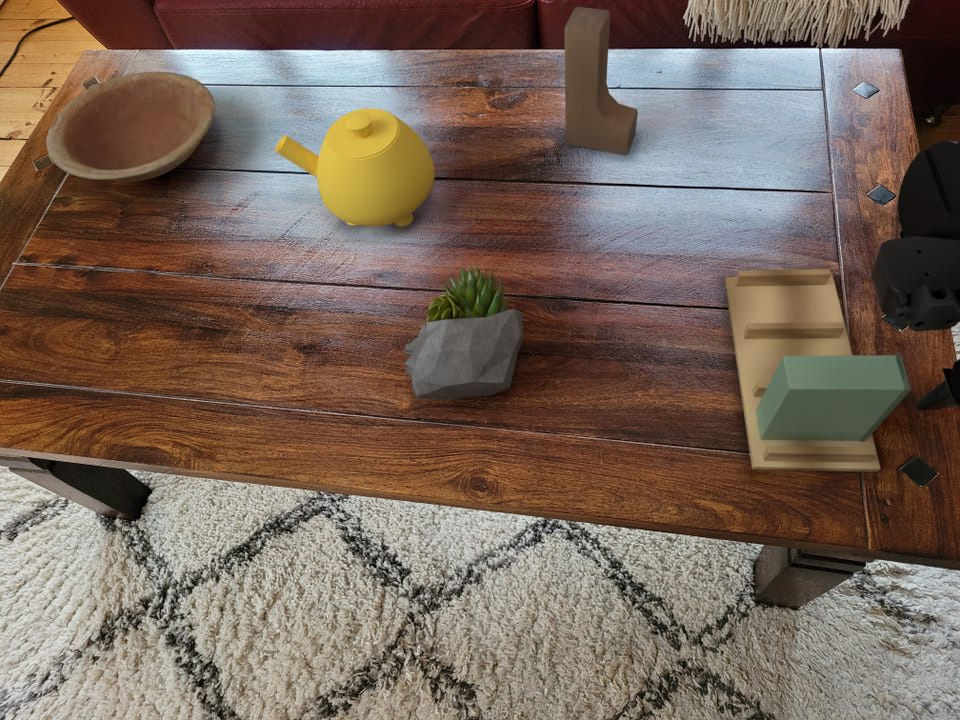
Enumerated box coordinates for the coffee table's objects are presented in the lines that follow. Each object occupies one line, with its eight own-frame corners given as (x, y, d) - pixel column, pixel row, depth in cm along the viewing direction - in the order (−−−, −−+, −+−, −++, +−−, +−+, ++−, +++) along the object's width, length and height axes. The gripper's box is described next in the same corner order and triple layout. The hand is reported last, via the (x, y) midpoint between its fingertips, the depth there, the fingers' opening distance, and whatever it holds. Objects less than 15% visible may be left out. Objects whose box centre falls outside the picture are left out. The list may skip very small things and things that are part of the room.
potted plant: (387, 401, 74) (389, 272, 78) (483, 412, 82) (481, 294, 85) (447, 378, 65) (445, 233, 69) (550, 392, 72) (543, 260, 76)
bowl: (213, 211, 97) (186, 169, 91) (58, 221, 100) (21, 181, 93) (245, 101, 110) (224, 57, 103) (106, 112, 112) (76, 70, 105)
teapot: (286, 241, 93) (245, 164, 81) (314, 159, 101) (280, 79, 89) (429, 244, 90) (408, 165, 78) (447, 160, 98) (430, 76, 86)
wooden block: (636, 134, 96) (648, 13, 81) (627, 156, 94) (638, 36, 79) (574, 124, 98) (574, 4, 83) (564, 145, 96) (563, 27, 81)
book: (857, 409, 71) (901, 354, 61) (864, 441, 69) (911, 389, 59) (755, 409, 72) (783, 354, 63) (760, 440, 70) (789, 389, 61)
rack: (830, 279, 80) (838, 264, 78) (878, 472, 68) (889, 461, 66) (724, 280, 82) (729, 266, 79) (752, 469, 69) (758, 459, 67)
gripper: (896, 126, 49) (795, 263, 62) (974, 347, 39) (834, 453, 53) (1048, 142, 49) (914, 275, 63) (1162, 366, 40) (976, 466, 53)
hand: (907, 359), depth 58 cm, fingers open, 9 cm apart
